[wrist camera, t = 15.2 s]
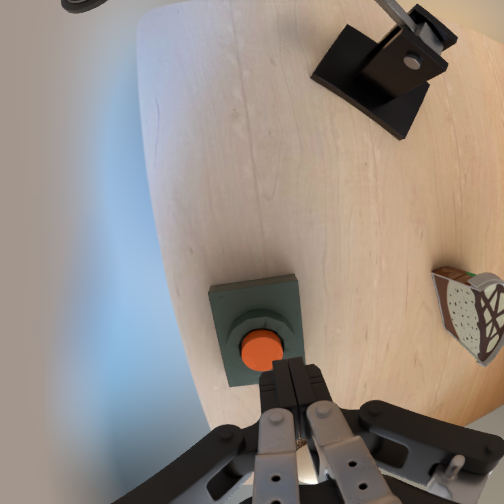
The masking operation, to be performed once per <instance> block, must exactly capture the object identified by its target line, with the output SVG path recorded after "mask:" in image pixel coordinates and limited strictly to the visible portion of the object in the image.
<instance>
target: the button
mask: <svg viewBox="0 0 504 504" xmlns="http://www.w3.org/2000/svg"><path fill="white" fill-rule="evenodd" d="M241 356H242V360H243V362H244V363H245V365H246V366H248V367H249V368H251V369H253V370H256V371H268V370H271V369H273V366H272V361H273V360H281V359H282V357H283V350H282V345H281V341H280V339H279V337H278V336H277V335H276V334H275V333H274V332H272V331H269V330H265V329H259V330H255V331H252V332H250V333H249V334H248V335H247V336H246V337H245V338H244V340H243V342H242V352H241Z"/></svg>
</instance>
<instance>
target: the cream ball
mask: <svg viewBox="0 0 504 504" xmlns="http://www.w3.org/2000/svg"><path fill="white" fill-rule="evenodd" d="M296 455H297V468H298V480H299V481H302V482H304V483H309V484H315V483H318V481H317V478H316V475H315V472H314V469H313V466H312V463H311V460H310V457H309V454H308V451H307V445H305V446H303V447H301V448H300V449H298V450H297V451H296Z"/></svg>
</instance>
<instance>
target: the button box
mask: <svg viewBox="0 0 504 504" xmlns="http://www.w3.org/2000/svg"><path fill="white" fill-rule="evenodd" d="M208 295H209V300H210V305H211V310H212V314H213V319H214V324H215V328H216V333H217V337H218V342H219V346H220V350H221V355H222V359H223V363H224V367H225V371H226V376H227V380H228V384H229V387H235V386H245V385H253V384H259V377H260V375H261V374H262V372H265V371H256V370H253V369H251V368H249V367H248V366H246V365H245V363H244V362H243V360H242V356H241V352H242V342H243V340H244V338H245V337H246V336H247V335H248V334H249V333H250V332H252V331H255V330H259V329H265V330H269V331H272V332H274V333H275V334H276V335H277V336H278V337H279V339H280V341H281V345H282V350H283V357H282V359H287V358H293V357H300V356H302V358H303V361H304V364H305V351H304V339H303V328H302V317H301V306H300V296H299V286H298V280H297V278H296V276H295V274H292V275H285V276H278V277H272V278H265V279H258V280H251V281H244V282H237V283H230V284H223V285H215V286H211V287H210V289H209V292H208ZM287 364H288V363H287ZM305 365H306V364H305ZM272 370H273V369H271V370H268V371H272Z"/></svg>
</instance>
